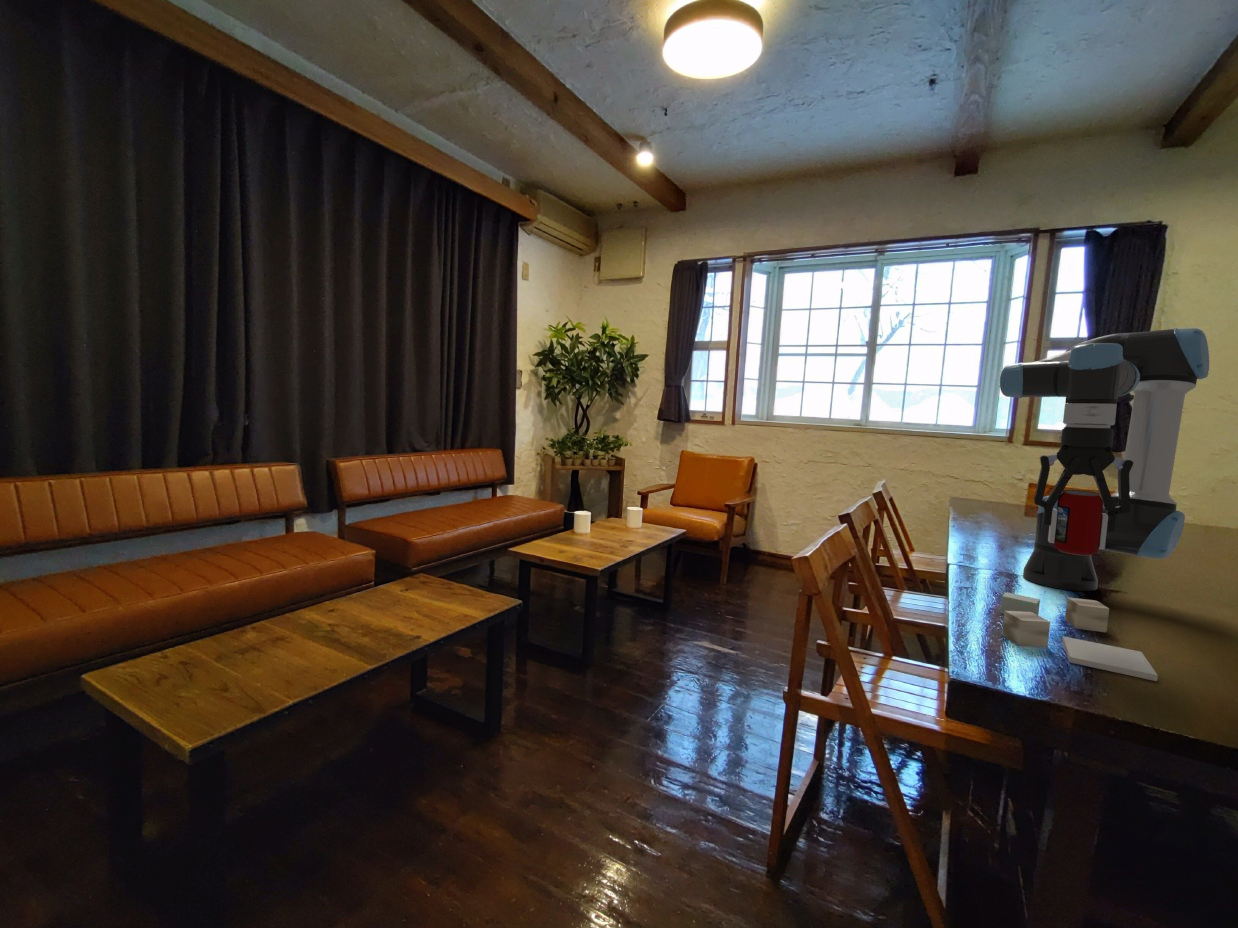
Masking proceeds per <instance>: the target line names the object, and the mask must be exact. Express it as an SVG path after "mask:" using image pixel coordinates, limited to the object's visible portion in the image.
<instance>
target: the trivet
mask: <svg viewBox="0 0 1238 928" xmlns="http://www.w3.org/2000/svg"><path fill="white" fill-rule="evenodd" d="M1061 638H1062V639H1061V643H1062V646H1063V649H1064V651H1065V653H1066V657H1067V659H1068V661H1069V663H1071V664H1076V665H1081V666H1084V667H1090V668H1095V669H1097V670H1103V671H1108V672H1112V673H1117V674H1123V675H1126V676H1131V677H1135V678H1140V679H1144V680H1150V681H1152V682H1153V681H1154V682H1157V681H1158V676H1159V675H1158V674H1157V672H1156V670H1154V668H1153V667H1152V665H1151V663H1150V662H1149V661H1148V659H1147V658H1146V656H1145V655H1144V654H1143V652H1142V651H1141V650H1140V651H1139V650H1133V649H1129V648H1124V647H1119V646H1115V645H1110V644H1104V643H1098V642H1094V641H1088V640H1085V639H1078V638H1074V637H1067V636H1064V635H1063V636H1062V637H1061Z"/></svg>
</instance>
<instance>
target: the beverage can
mask: <svg viewBox="0 0 1238 928" xmlns="http://www.w3.org/2000/svg"><path fill="white" fill-rule="evenodd" d="M1057 511H1058V512H1057V521H1056V531H1055V541H1054V543H1053V546H1054V547H1055V548H1057V549H1058V550H1059V551H1061V552H1063V553H1067V554H1073V555H1081V556H1090V555H1091V554H1092V555H1093V554H1097V553H1098V551H1099V549H1098V546H1099V538H1100V530H1101V521H1102V511H1103V501H1102V498H1101V496H1100V493H1099V492H1097V491H1090V490H1084V489H1083V490H1081V489H1080V490H1079V489H1064V490H1063V492H1062V493H1061V495H1060V497H1059V498H1058V502H1057Z"/></svg>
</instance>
